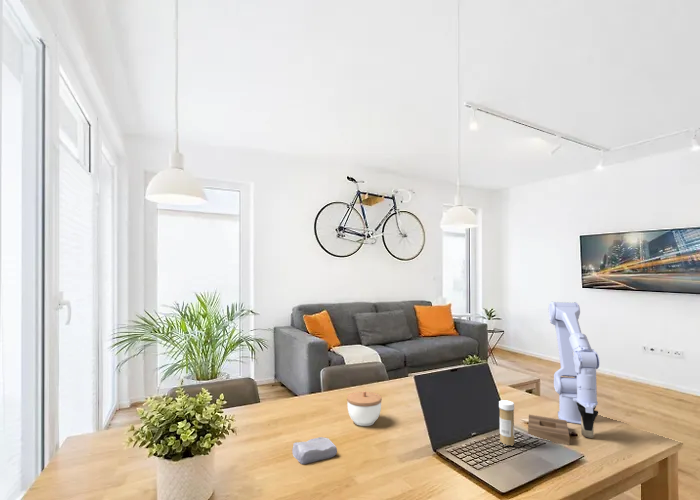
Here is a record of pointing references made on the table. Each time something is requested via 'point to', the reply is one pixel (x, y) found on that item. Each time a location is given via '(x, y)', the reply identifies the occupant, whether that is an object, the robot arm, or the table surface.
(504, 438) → the sprinkles bottle
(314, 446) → the stone block
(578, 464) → the table surface
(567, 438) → the socket block
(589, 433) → the dowel
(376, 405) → the lidded bowl
